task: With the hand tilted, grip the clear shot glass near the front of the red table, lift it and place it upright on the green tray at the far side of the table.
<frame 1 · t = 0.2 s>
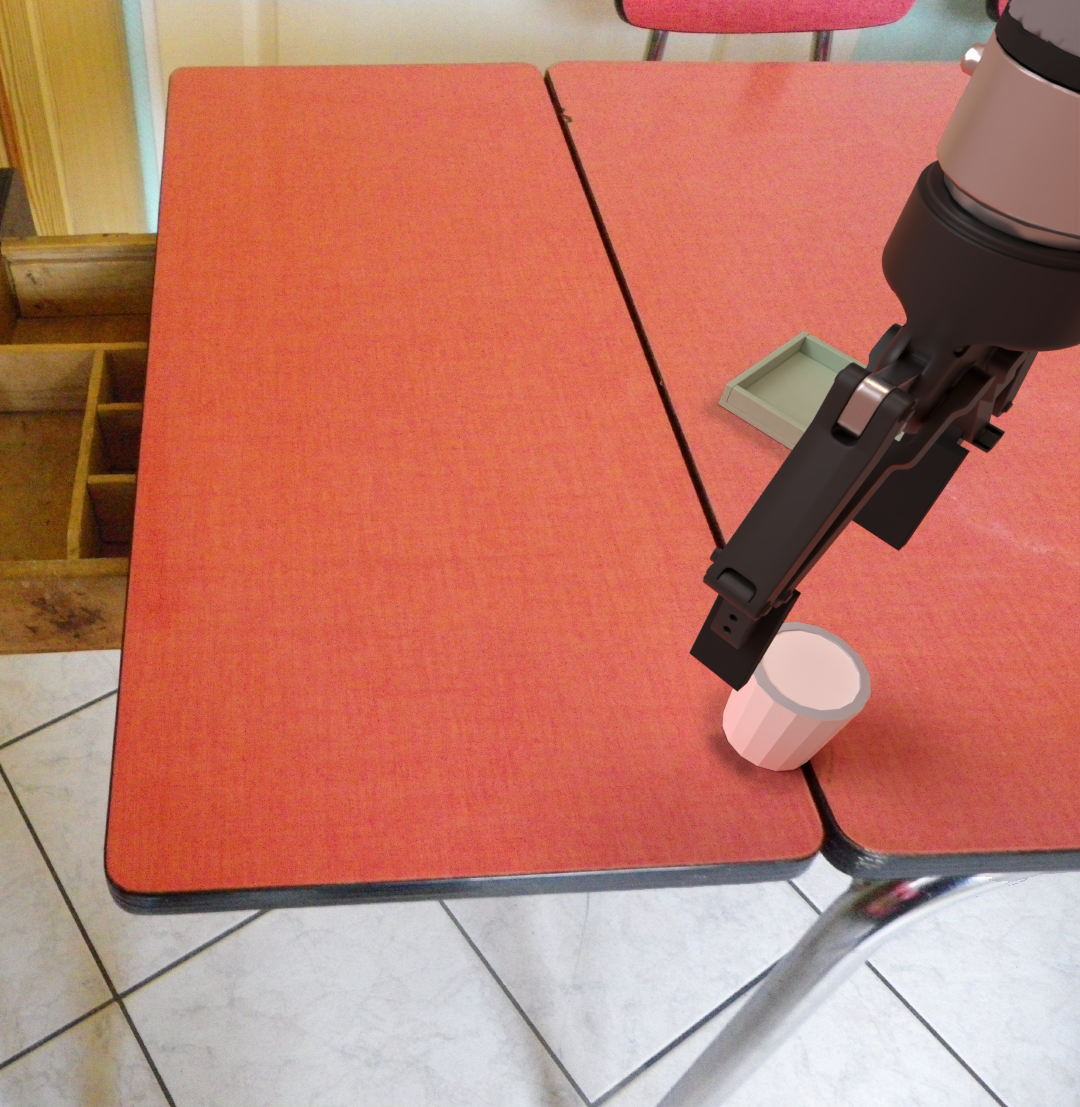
hand: (802, 596, 49), 17 cm above the table, tool pointing down, fingers open, 13 cm apart
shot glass: (766, 732, 64), on the table
green tray: (825, 417, 83), on the table
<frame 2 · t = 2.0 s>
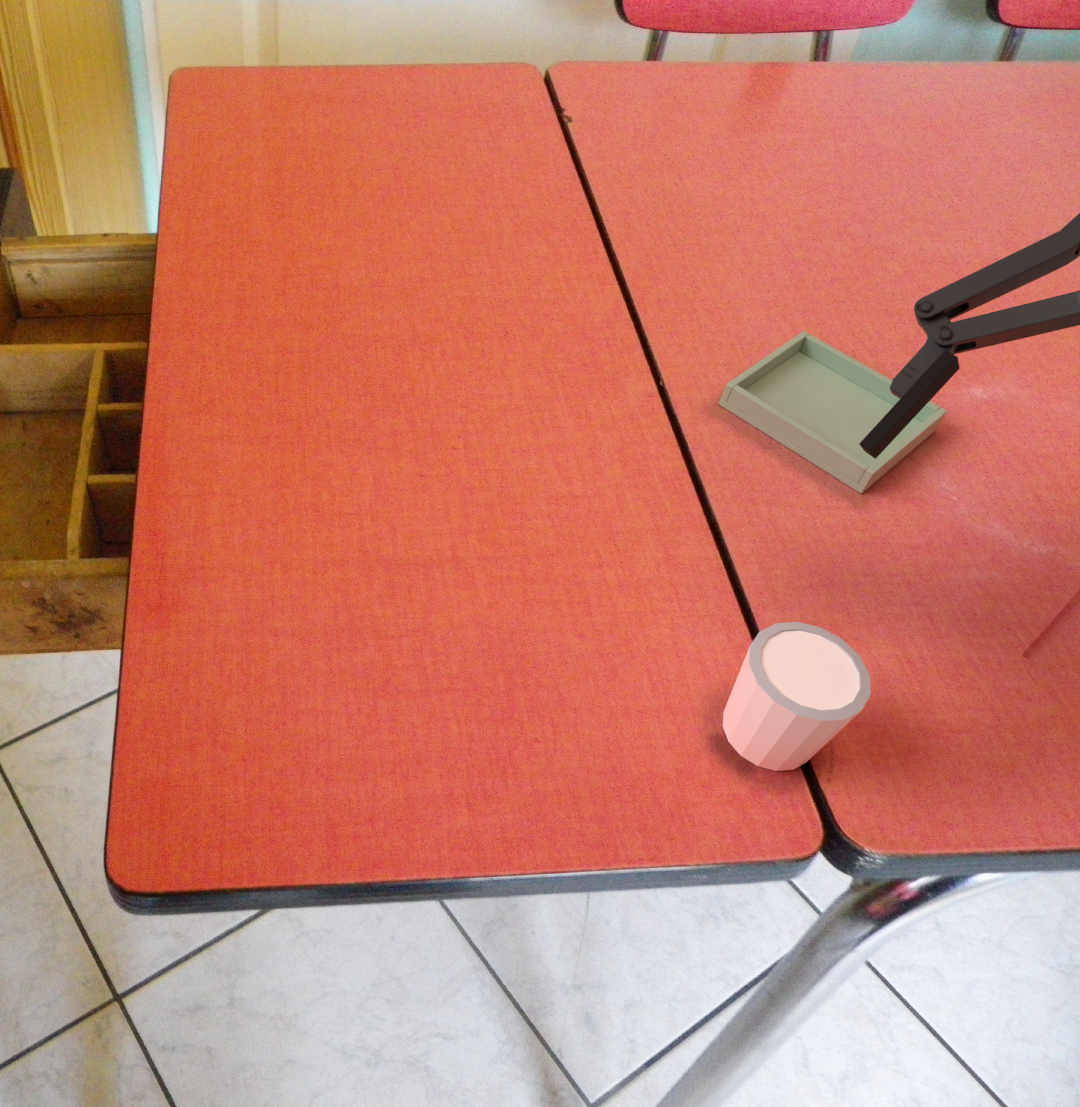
hand: (972, 526, 55), 15 cm above the table, tool tilted 40°, fingers open, 13 cm apart
nothing on the table moved.
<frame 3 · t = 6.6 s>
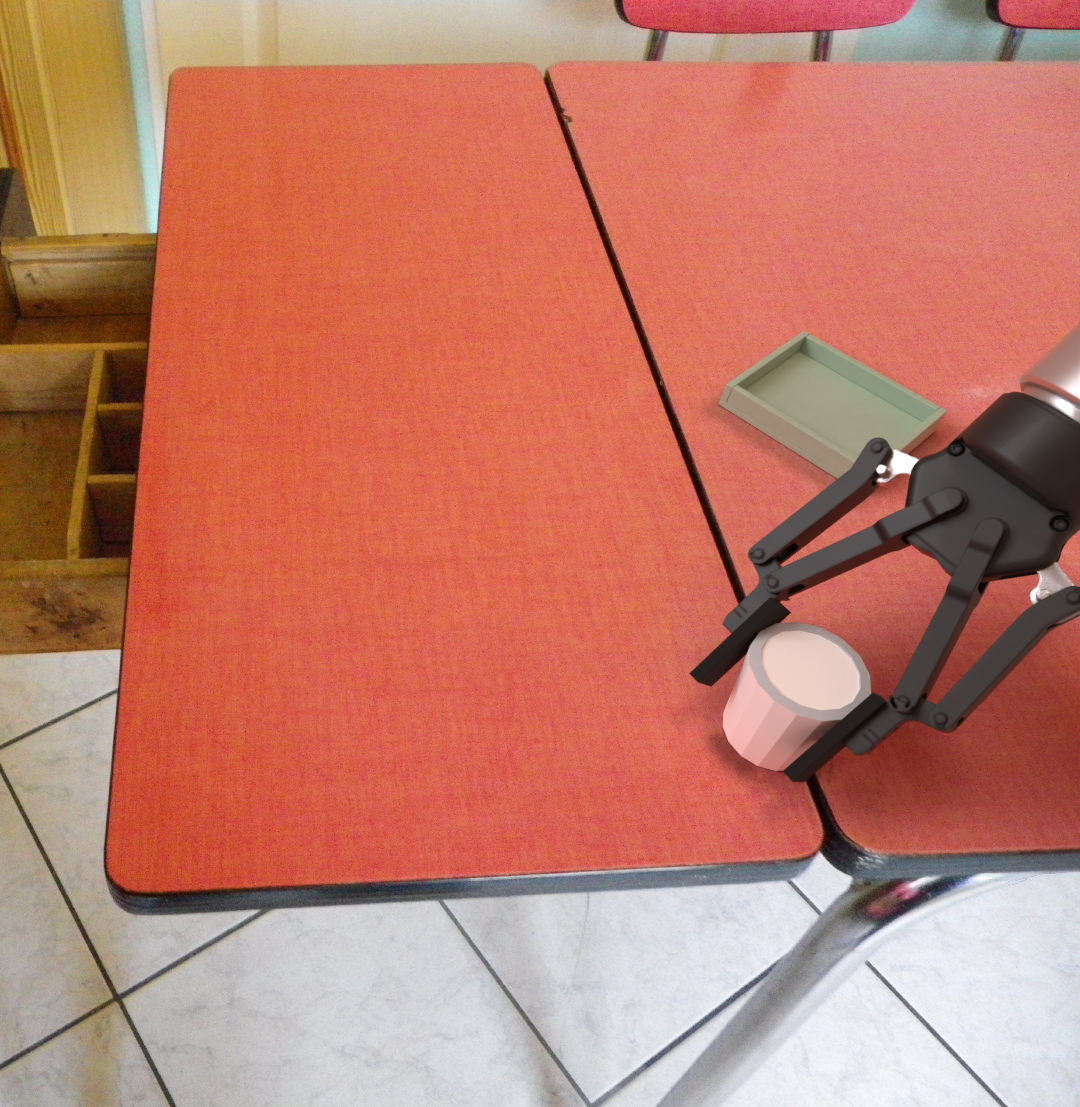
hand: (745, 726, 60), 3 cm above the table, tool tilted 45°, fingers closed on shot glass, 7 cm apart
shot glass: (766, 732, 64), on the table, touching gripper
when the fingers open (4 cm above the table, at t = 16.1 s): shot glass stays where it is, resting on green tray.
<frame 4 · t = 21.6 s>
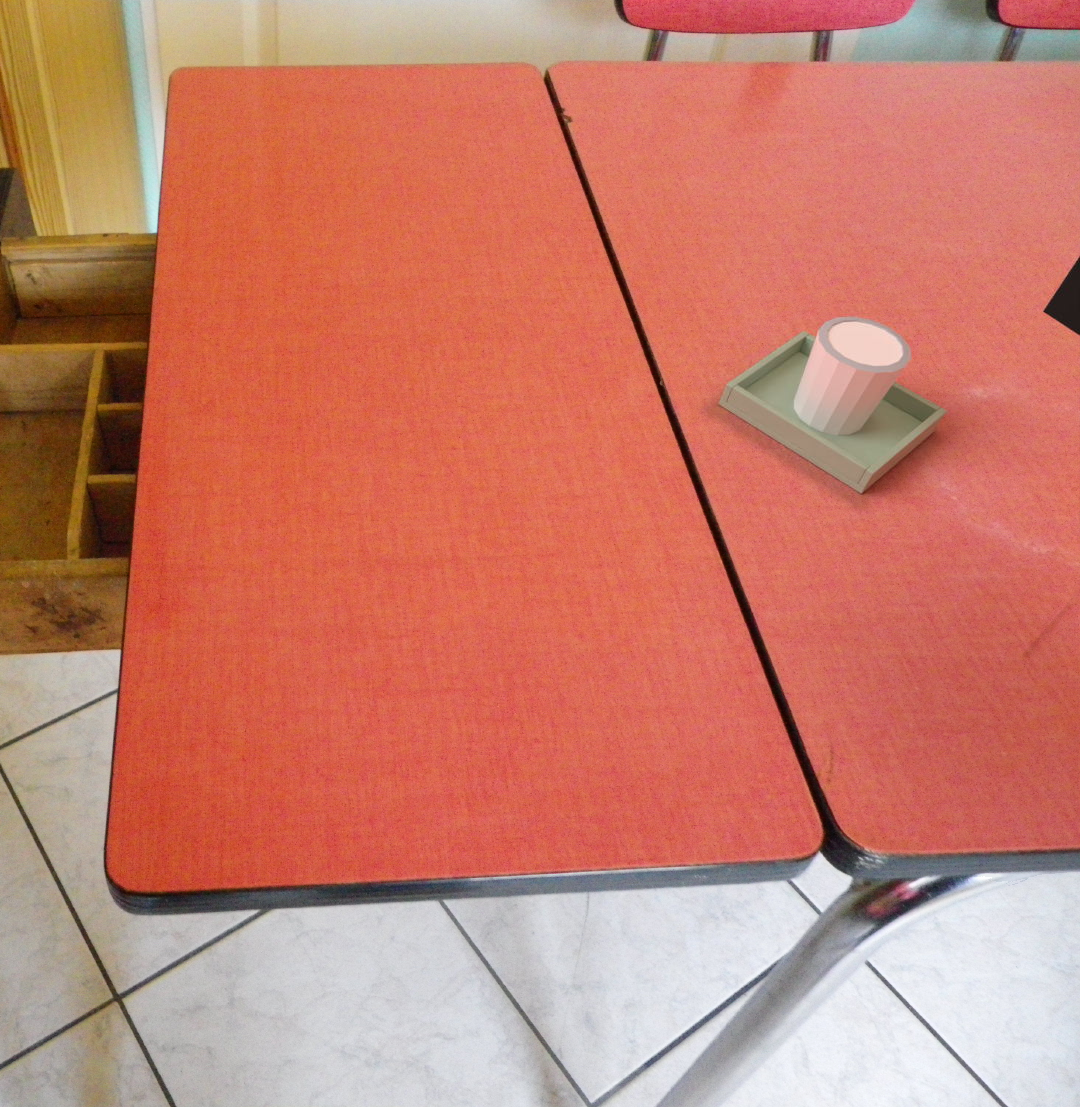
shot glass: (827, 413, 83), resting on green tray
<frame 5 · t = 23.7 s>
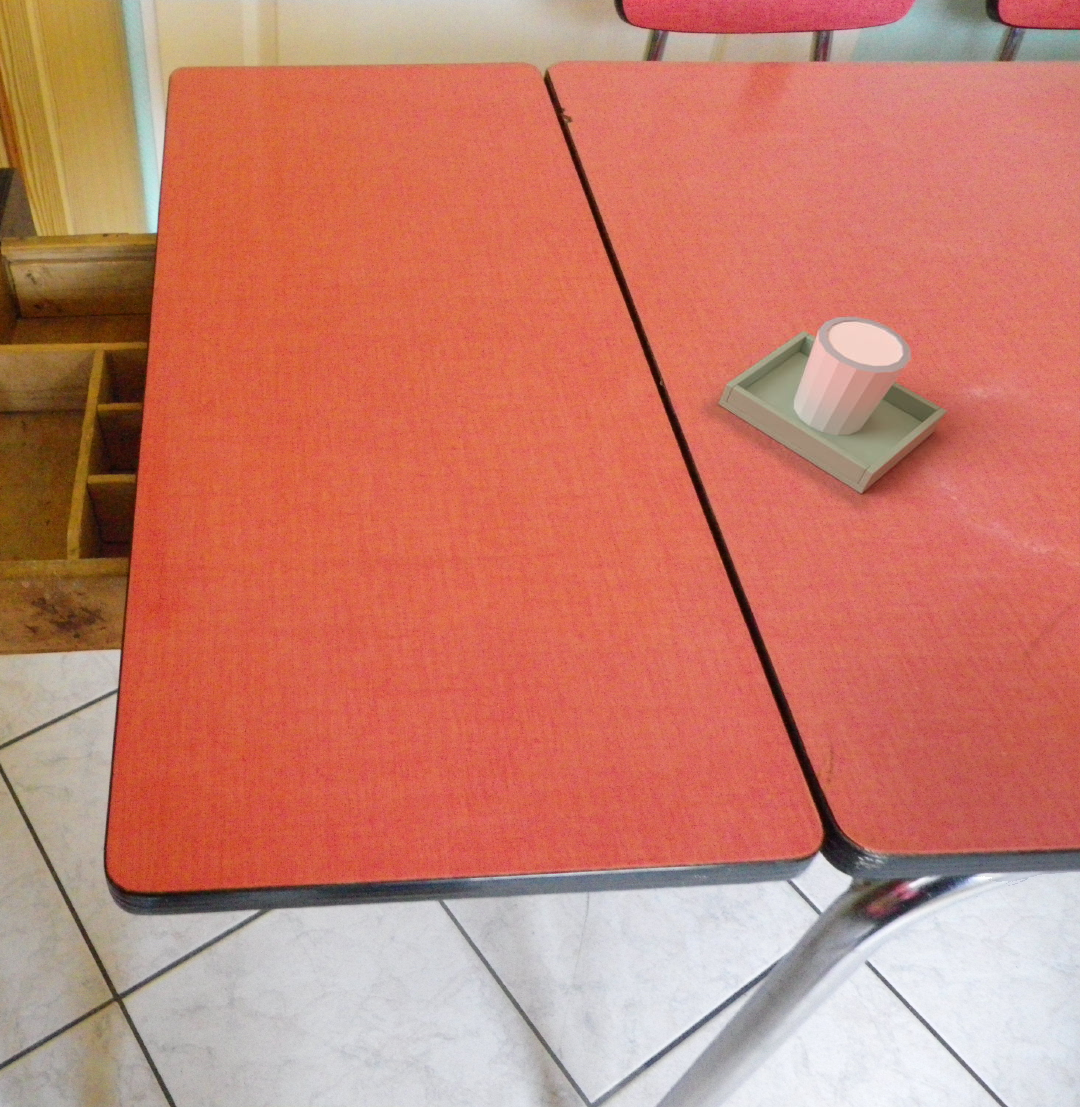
nothing on the table moved.
at the end: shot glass inside the target area in the green tray (0.0 cm from its centre), point 0.4 cm above the green tray's base; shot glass tilted 0°; the gripper is holding nothing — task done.
